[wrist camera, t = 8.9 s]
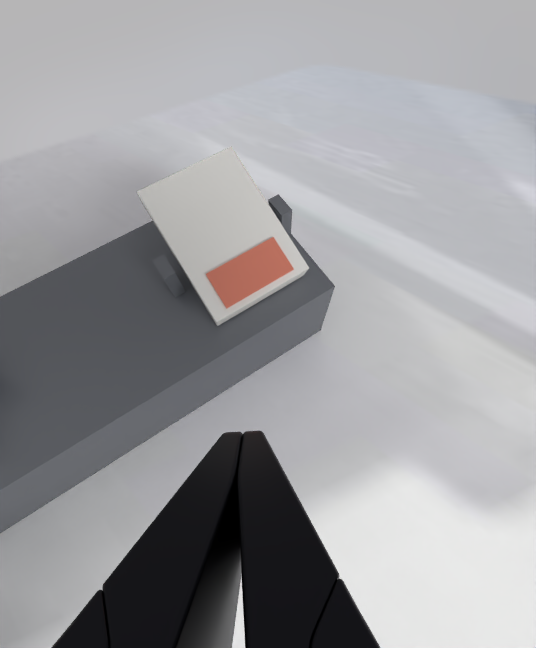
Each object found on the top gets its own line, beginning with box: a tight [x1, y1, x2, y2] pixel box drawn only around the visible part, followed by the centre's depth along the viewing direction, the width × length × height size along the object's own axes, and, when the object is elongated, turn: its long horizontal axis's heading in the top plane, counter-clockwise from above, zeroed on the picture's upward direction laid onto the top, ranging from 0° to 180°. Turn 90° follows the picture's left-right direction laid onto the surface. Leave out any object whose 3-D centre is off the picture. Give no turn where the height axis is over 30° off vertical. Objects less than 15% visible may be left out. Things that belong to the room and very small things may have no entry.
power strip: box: [0, 194, 335, 533], centre depth 17 cm, size 9×23×8 cm, turn 123°
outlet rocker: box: [137, 146, 309, 326], centre depth 15 cm, size 7×5×1 cm
